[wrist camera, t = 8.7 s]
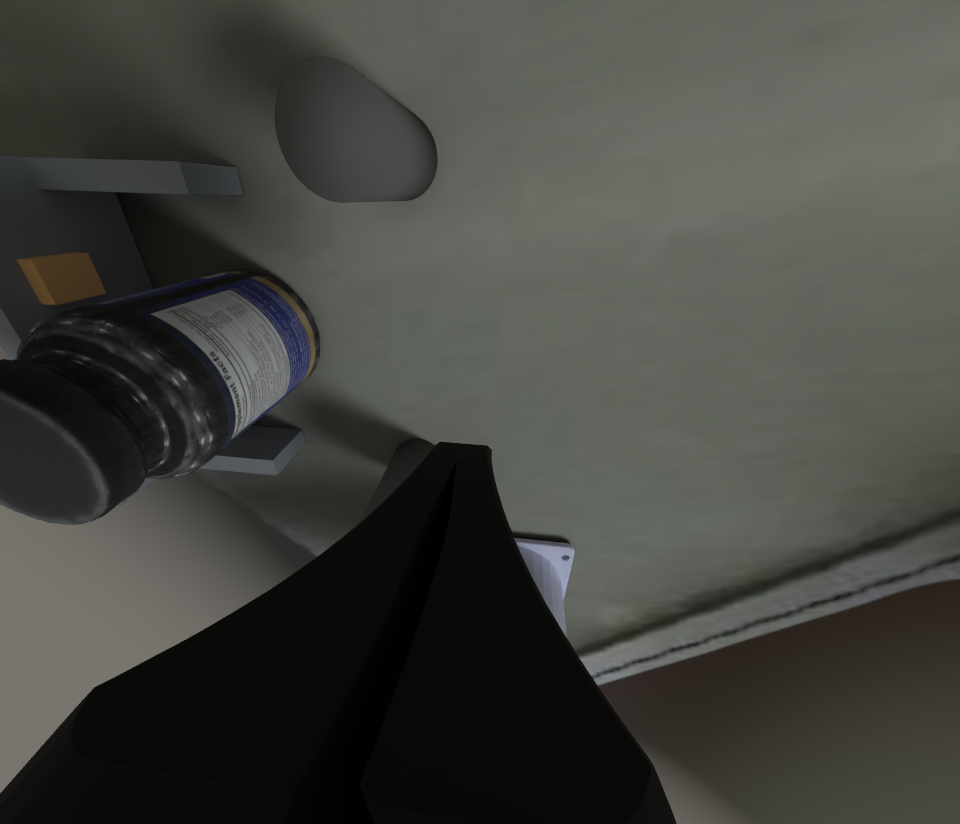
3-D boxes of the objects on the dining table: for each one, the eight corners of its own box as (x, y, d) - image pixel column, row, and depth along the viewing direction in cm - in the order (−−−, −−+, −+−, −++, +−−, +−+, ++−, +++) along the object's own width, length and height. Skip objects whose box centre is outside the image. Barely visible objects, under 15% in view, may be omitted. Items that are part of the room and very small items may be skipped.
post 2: (444, 481, 23) (421, 564, 18) (397, 477, 23) (360, 558, 18) (443, 441, 21) (418, 519, 16) (392, 437, 22) (351, 513, 16)
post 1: (438, 202, 15) (394, 204, 10) (367, 199, 16) (289, 200, 10) (436, 109, 14) (383, 57, 9) (358, 108, 14) (261, 56, 9)
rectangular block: (305, 443, 23) (240, 517, 17) (197, 434, 23) (102, 502, 18) (236, 167, 15) (92, 152, 10) (82, 162, 16) (-129, 146, 11)
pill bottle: (218, 371, 21) (-44, 520, 11) (195, 254, 18) (-197, 322, 8) (327, 394, 21) (158, 561, 11) (323, 281, 18) (83, 379, 8)
